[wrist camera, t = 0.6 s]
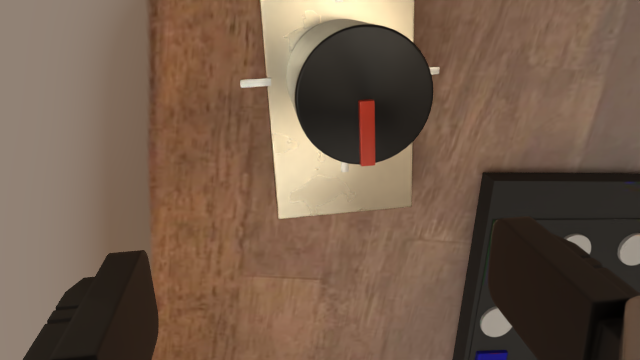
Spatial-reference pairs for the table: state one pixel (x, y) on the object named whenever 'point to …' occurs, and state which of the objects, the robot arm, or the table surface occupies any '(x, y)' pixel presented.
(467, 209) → the table surface
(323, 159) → the panel
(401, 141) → the hob knob
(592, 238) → the remote control
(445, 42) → the table surface
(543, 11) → the table surface
